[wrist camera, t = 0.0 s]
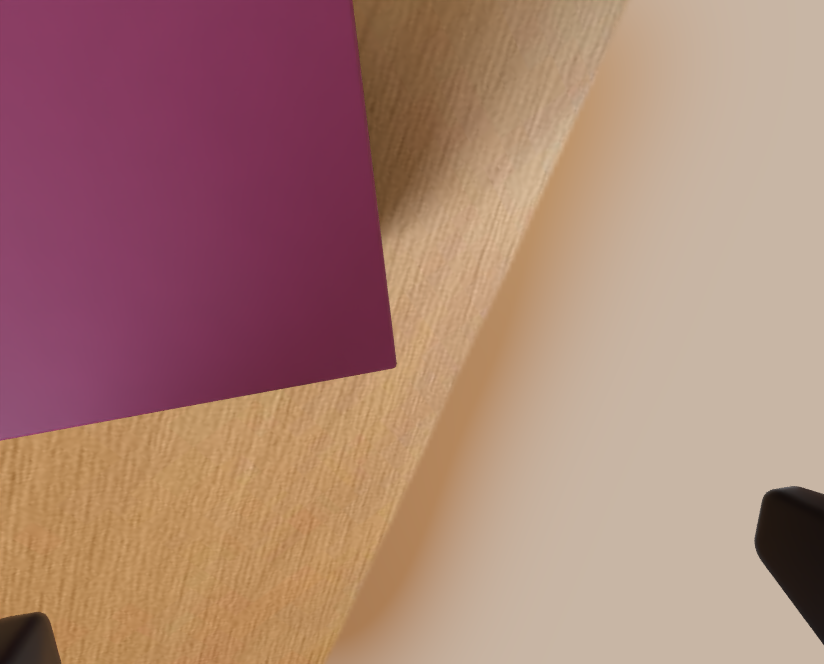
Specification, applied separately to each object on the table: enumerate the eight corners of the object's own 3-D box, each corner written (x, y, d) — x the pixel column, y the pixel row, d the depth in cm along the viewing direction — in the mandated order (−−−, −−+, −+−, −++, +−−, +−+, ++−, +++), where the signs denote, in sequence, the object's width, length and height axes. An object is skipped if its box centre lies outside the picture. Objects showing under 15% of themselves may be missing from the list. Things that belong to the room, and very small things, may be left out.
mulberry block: (334, 254, 14) (398, 369, 7) (128, 284, 13) (-44, 451, 6) (302, 38, 12) (341, -104, 5) (66, 57, 11) (-266, -81, 4)
